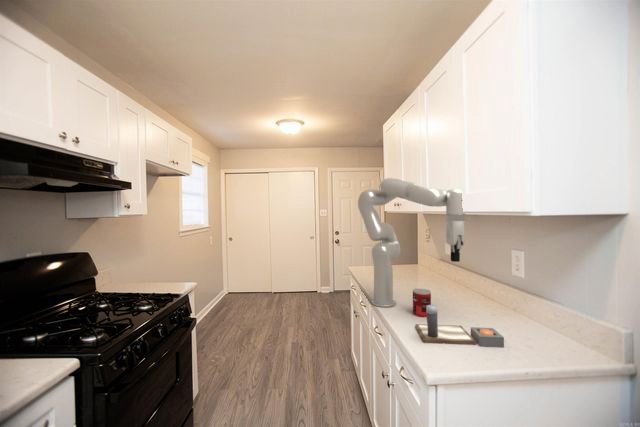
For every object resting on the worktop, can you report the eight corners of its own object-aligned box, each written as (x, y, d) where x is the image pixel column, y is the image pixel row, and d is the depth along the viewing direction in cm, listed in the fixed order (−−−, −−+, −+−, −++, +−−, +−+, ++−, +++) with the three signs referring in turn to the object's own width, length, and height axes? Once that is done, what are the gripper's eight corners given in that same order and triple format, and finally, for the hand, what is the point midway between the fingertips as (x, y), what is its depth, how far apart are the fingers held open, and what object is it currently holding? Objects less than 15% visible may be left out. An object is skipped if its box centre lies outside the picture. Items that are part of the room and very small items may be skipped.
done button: (477, 336, 107) (477, 328, 107) (490, 336, 107) (490, 328, 107) (482, 341, 103) (482, 333, 103) (495, 342, 102) (495, 334, 102)
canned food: (414, 310, 138) (414, 287, 138) (432, 313, 134) (432, 289, 134) (411, 315, 131) (410, 291, 131) (429, 318, 127) (429, 294, 127)
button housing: (470, 336, 109) (470, 327, 109) (492, 337, 108) (492, 327, 108) (479, 346, 101) (479, 336, 101) (503, 347, 100) (503, 337, 100)
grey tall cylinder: (427, 332, 109) (426, 304, 108) (438, 333, 108) (437, 305, 107) (427, 337, 106) (426, 308, 105) (438, 338, 104) (437, 309, 103)
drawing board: (415, 327, 118) (415, 323, 118) (461, 328, 116) (461, 325, 116) (423, 342, 104) (423, 338, 104) (475, 344, 102) (475, 340, 102)
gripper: (441, 217, 130) (440, 257, 130) (452, 219, 115) (451, 264, 115) (458, 217, 129) (458, 258, 129) (472, 219, 114) (471, 265, 114)
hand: (455, 261), depth 122 cm, fingers closed
